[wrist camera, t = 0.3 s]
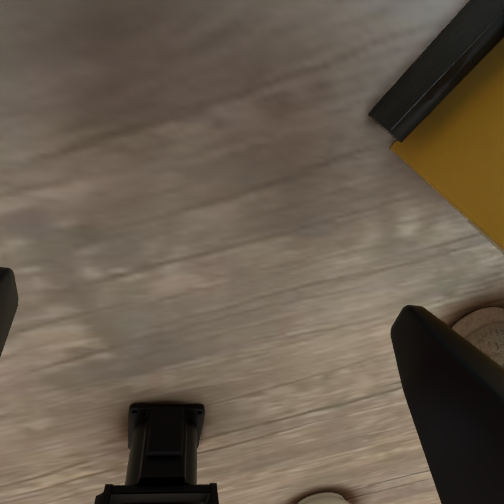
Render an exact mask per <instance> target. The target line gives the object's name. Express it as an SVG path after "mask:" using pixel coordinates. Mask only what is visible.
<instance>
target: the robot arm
mask: <svg viewBox="0 0 504 504" xmlns="http://www.w3.org/2000/svg"><path fill="white" fill-rule="evenodd" d="M17 306H18V293H17V288H16V282H15V276H14V272H13V271H12V269H10V268H5V267H0V356H1V354H2V351H3V348H4V345H5V342H6V339H7V336H8V333H9V330H10V327H11V324H12V322H13V319H14V316H15V313H16V310H17ZM391 340H392V344H393V349H394V353H395V357H396V362H397V366H398V370H399V375H400V379H401V383H402V387H403V391H404V394H405V397H406V401H407V404H408V406H409V409H410V412H411V415H412V418H413V421H414V424H415V427H416V430H417V433H418V436H419V439H420V442H421V445H422V448H423V451H424V453H425V456H426V459H427V462H428V465H429V468H430V471H431V474H432V477H433V480H434V483H435V486H436V489H437V492H438V495H439V498H440V501H441V503H442V504H504V368H503V367H502V366H501V365H499V364H498V363H497V362H495V361H494V360H493V359H491V358H490V357H489V356H487V355H486V354H485V353H483V352H482V351H481V350H479V349H478V348H477V347H475V346H474V345H473V344H472V343H470V342H469V341H468V340H466V339H465V338H464V337H462V336H461V335H460V334H458V333H457V332H456V331H454V330H453V329H452V328H450V327H449V326H448V325H446V324H445V323H444V322H442V321H441V320H440V319H438V318H437V317H436V316H434V315H433V314H432V313H430V312H429V311H428V310H426V309H425V308H424V307H421V306H414V305H407V306H405V307H403V309H402V310H401V312H400V314H399V315H398V317H397V319H396V320H395V322H394V324H393V325H392V328H391ZM204 415H205V407H204V406H201V405H151V404H133V405H131V406H130V408H129V433H128V448H129V449H130V454H129V461H128V468H127V474H126V481H125V485H113V484H105V489H104V492H103V493H102V494H100V495H98V496H96V499H95V504H219V501H218V492H217V483H210V484H204V485H197V448H198V445H199V440H200V435H201V430H202V425H203V420H204Z"/></svg>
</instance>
